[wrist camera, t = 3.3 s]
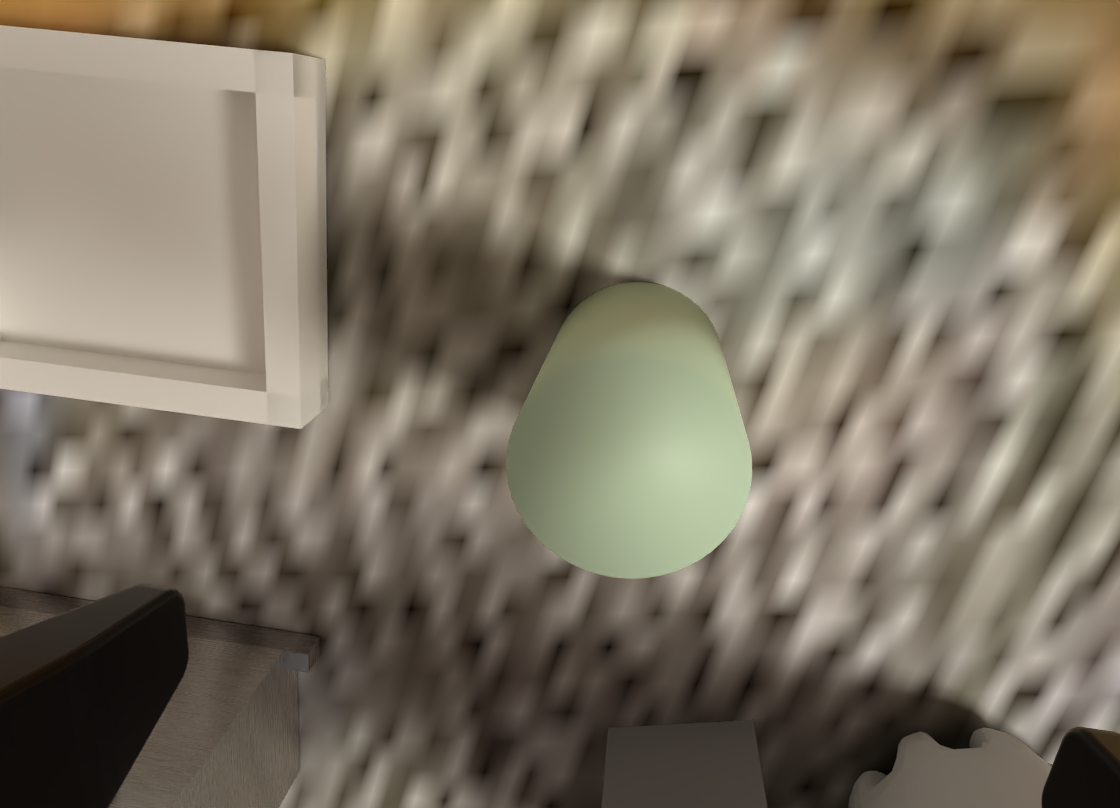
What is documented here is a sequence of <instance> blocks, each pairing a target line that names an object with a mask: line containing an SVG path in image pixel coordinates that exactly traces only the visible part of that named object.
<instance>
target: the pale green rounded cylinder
mask: <svg viewBox="0 0 1120 808" xmlns="http://www.w3.org/2000/svg"><path fill="white" fill-rule="evenodd" d="M506 470H507V478H508V485H509V488H510V492H511V496H512V499H513V501H514V504H515V506H516V508H517V511H518V513H519V514H520V516H521V518H522V519H523V521H524V523H525V524H526V526H527V527H528V528H529V529H530V531H531V532H532V533H533V534H534V536H535V537H536V538H537V539H538V540H539V541H540V542H541V543H542V544H543V545H544V546H545V547H547V548H548V549H549V550H551V551H552V552H553V553H554V554H556V555H557V556H559V557H560V558H562V559H564V560H565V561H567V562H569V563H570V564H573V565H575V566H577V567H579V568H581V569H584V570H587V571H590V572H593V573H596V574H600V575H605V576H610V577H617V578H647V577H654V576H660V575H664V574H668V573H671V572H675V571H677V570H680V569H682V568H685V567H687V566H689V565H691V564H693V563H695V562H696V561H698V560H700V559H702V558H703V557H704V556H706V555H707V554H709V553H710V552H711V551H713V550H714V549H715V548H716V547H717V546H718V545H719V544H720V543H721V542H722V541H723V540H724V539H725V538H726V537H727V536H728V534H729V533H730V532H731V531H732V529H733V528H734V526H735V525H736V523H737V521H738V520H739V518H740V517H741V514H742V512H743V510H744V507H745V505H746V503H747V499H748V495H749V492H750V487H751V479H752V457H751V451H750V445H749V441H748V438H747V434H746V431H745V427H744V424H743V420H742V417H741V413H740V410H739V406H738V403H737V399H736V396H735V393H734V389H733V386H732V382H731V379H730V375H729V372H728V368H727V365H726V361H725V358H724V354H723V351H722V347H721V344H720V341H719V338H718V335H717V332H716V330H715V328H714V326H713V324H712V323H711V321H710V320H709V318H708V317H707V315H706V314H705V313H704V312H703V311H702V310H701V308H700V307H699V306H698V305H696V304H695V303H694V302H693V301H692V300H691V299H689V298H688V297H686V296H684V295H683V294H681V293H680V292H678V291H675V290H673V289H671V288H669V287H665V286H662V285H659V284H654V283H648V282H627V283H621V284H616V285H612V286H609V287H606V288H604V289H601V290H599V291H597V292H595V293H593V294H592V295H590V296H589V297H587V298H586V299H584V300H583V301H582V302H581V303H580V304H578V305H577V306H576V307H575V308H574V309H573V310H572V312H571V313H570V314H569V315H568V316H567V318H566V320H565V321H564V323H563V324H562V326H561V328H560V330H559V332H558V334H557V336H556V338H555V340H554V342H553V345H552V347H551V349H550V351H549V353H548V355H547V357H546V359H545V361H544V363H543V365H542V367H541V369H540V372H539V374H538V376H537V378H536V380H535V382H534V384H533V386H532V388H531V390H530V392H529V394H528V396H527V398H526V401H525V403H524V405H523V407H522V409H521V411H520V413H519V415H518V417H517V419H516V422H515V424H514V426H513V429H512V432H511V435H510V439H509V443H508V449H507V464H506Z"/></svg>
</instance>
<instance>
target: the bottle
mask: <svg viewBox="0 0 1120 808" xmlns="http://www.w3.org/2000/svg"><path fill="white" fill-rule="evenodd" d="M1051 768H1052V764H1049V763H1047V762H1045V761H1044V760H1043V759H1041V758H1040V757H1039V756H1038V755H1036V754H1035V753H1034V752H1033V751H1032V750H1031V749H1030V748H1029V747H1028V746H1027V745H1026V744H1024V743H1023V742H1021V741H1019V740H1018V739H1016V738H1015V737H1013V736H1012V735H1010V734H1009V733H1006V732H1002V731H999V730H995V729H990V728H984V727H983V728H980V729H978V730H976V731H974V732H973V734H972V736H971V739H970V748H966V749H951V748H948V747H945V746H942V745H939V744H938V743H937V742H936V741H935V740H934V739H933V738H932V737H930V736H929V735H928V734H927V733H924V732H917V733H913V734H910V735H908V736H906V737H904V738H902V740H901V741H900V743H899V744H898V750H897V758H896V761H895V764H894V767H893V770H892V772H891V773H889V774H888V775H885V774H884V773H881V772H878V771H867V772H864V773H862V775H861V776H860V777H859V778H858V780H857V781H856V782H855V784H854V787H853V790H852V792H851V795H850V798H849V806H848V808H1042V792H1043V788H1044V785H1045V783H1046V780H1047V778H1048V775H1049V773H1050V770H1051Z"/></svg>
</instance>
